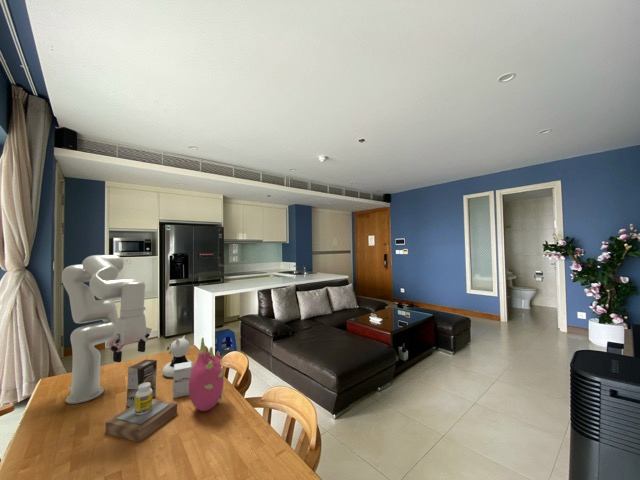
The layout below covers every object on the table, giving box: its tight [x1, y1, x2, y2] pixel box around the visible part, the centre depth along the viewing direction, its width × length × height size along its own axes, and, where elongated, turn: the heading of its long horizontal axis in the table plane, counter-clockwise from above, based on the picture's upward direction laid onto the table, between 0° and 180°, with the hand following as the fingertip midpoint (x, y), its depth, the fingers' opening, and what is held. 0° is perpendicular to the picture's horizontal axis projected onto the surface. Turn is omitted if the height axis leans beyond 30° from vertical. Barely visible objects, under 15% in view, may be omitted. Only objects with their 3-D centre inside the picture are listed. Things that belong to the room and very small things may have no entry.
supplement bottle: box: [135, 382, 153, 415], centre depth 99 cm, size 5×5×10 cm
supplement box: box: [172, 360, 193, 399], centre depth 119 cm, size 7×7×13 cm
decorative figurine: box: [161, 335, 194, 378], centre depth 139 cm, size 15×15×20 cm
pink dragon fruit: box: [189, 337, 225, 412], centre depth 108 cm, size 18×14×30 cm
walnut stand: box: [104, 398, 178, 443], centre depth 98 cm, size 16×16×4 cm
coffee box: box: [125, 359, 158, 408], centre depth 113 cm, size 9×6×16 cm
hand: (129, 356), depth 101 cm, fingers open, 9 cm apart
